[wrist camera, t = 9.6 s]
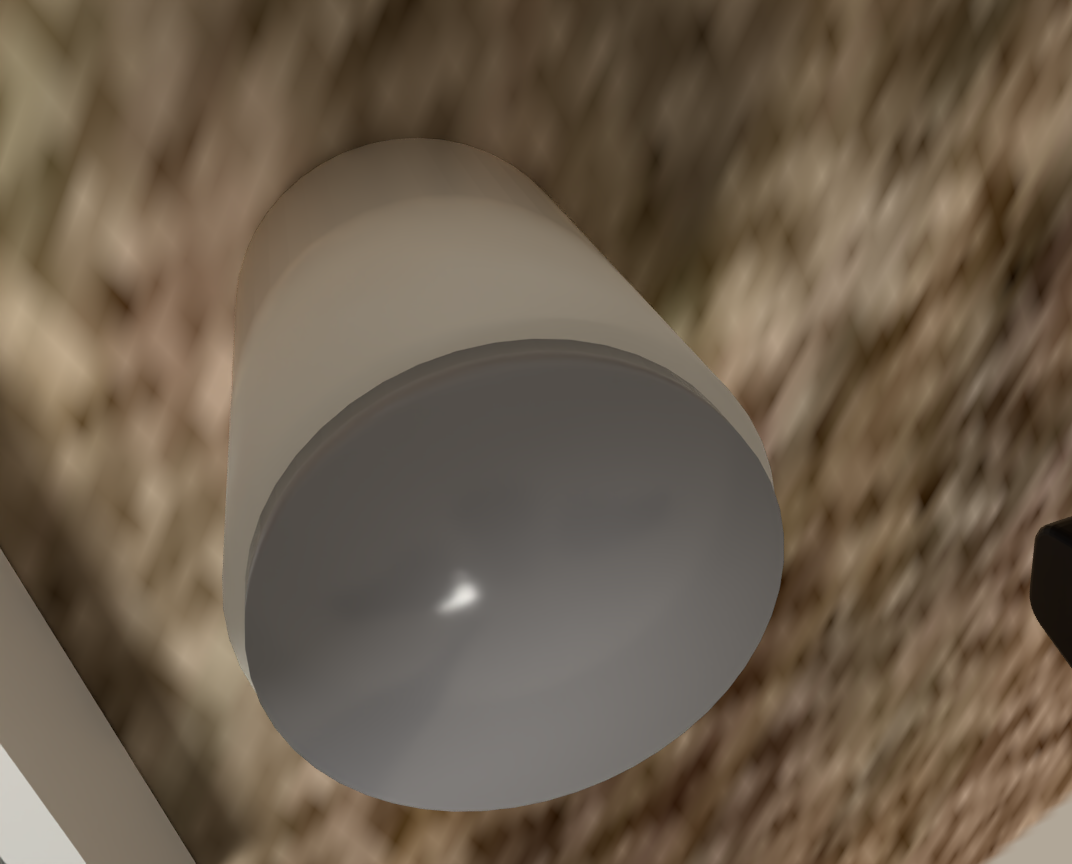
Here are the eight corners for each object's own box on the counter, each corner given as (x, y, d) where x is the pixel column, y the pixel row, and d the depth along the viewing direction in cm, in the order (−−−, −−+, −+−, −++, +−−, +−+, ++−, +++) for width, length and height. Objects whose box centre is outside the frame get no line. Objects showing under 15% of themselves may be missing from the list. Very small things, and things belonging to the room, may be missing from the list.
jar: (608, 412, 17) (814, 722, 11) (301, 505, 17) (330, 889, 10) (552, 96, 15) (786, 266, 8) (178, 193, 14) (112, 462, 7)
